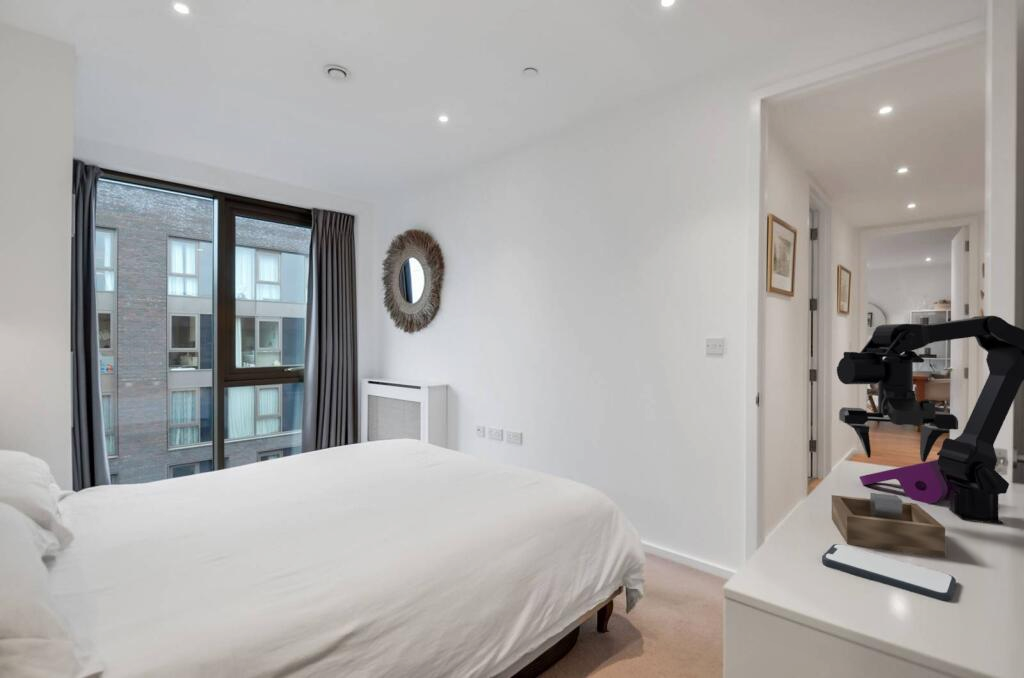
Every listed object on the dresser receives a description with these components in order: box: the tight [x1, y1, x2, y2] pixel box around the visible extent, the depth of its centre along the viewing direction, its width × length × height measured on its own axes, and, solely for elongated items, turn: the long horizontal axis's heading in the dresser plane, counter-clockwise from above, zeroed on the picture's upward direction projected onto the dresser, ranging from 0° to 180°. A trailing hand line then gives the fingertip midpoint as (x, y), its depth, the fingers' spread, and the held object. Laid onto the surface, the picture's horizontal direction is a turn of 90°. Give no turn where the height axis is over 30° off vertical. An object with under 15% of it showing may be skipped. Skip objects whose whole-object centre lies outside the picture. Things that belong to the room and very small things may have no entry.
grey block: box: [869, 492, 903, 521], centre depth 91 cm, size 4×6×7 cm, turn 157°
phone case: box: [821, 543, 957, 602], centre depth 77 cm, size 9×2×16 cm
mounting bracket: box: [858, 459, 953, 505], centre depth 116 cm, size 10×8×18 cm
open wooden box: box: [831, 494, 946, 558], centre depth 91 cm, size 14×13×5 cm
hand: (895, 459), depth 101 cm, fingers open, 9 cm apart
